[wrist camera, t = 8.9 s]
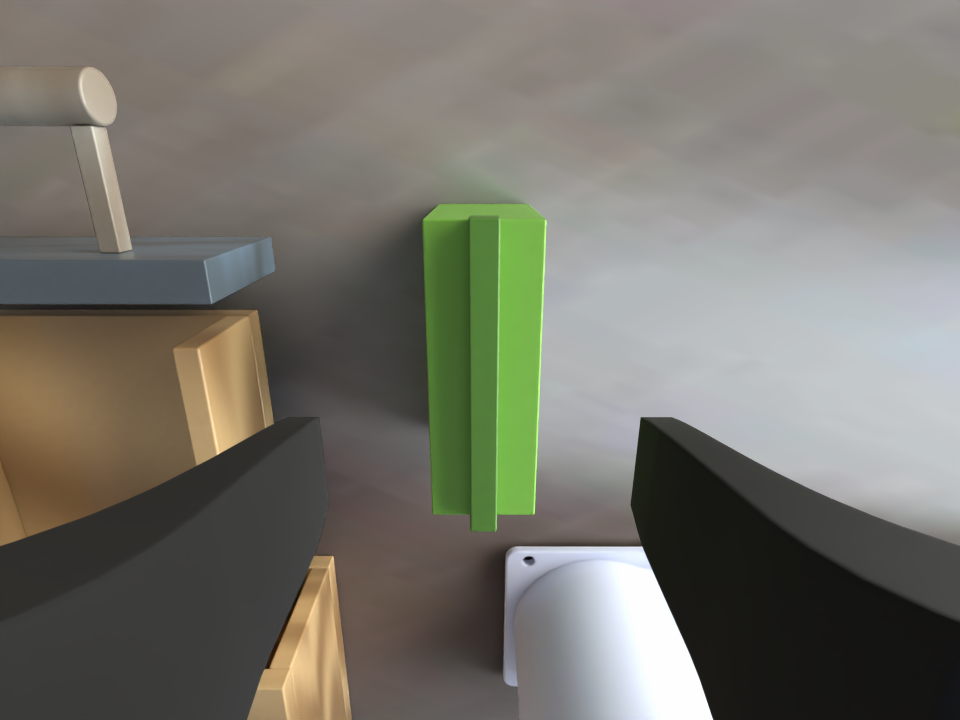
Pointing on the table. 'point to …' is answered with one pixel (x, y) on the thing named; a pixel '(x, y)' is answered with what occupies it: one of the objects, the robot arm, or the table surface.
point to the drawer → (115, 337)
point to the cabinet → (308, 657)
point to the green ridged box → (483, 357)
